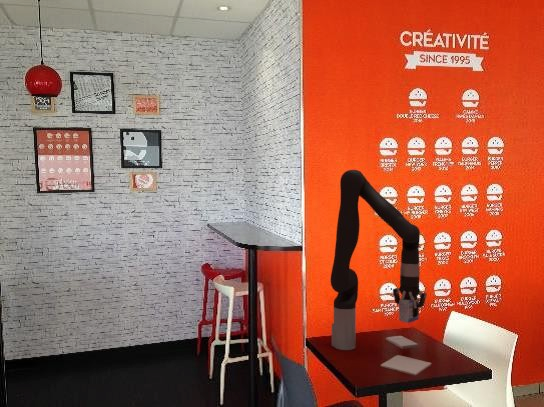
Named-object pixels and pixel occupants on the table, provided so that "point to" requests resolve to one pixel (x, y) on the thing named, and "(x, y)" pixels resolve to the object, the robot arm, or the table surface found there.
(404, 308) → the medicine box
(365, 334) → the table surface
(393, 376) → the table surface
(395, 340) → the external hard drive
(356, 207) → the robot arm
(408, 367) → the mat
